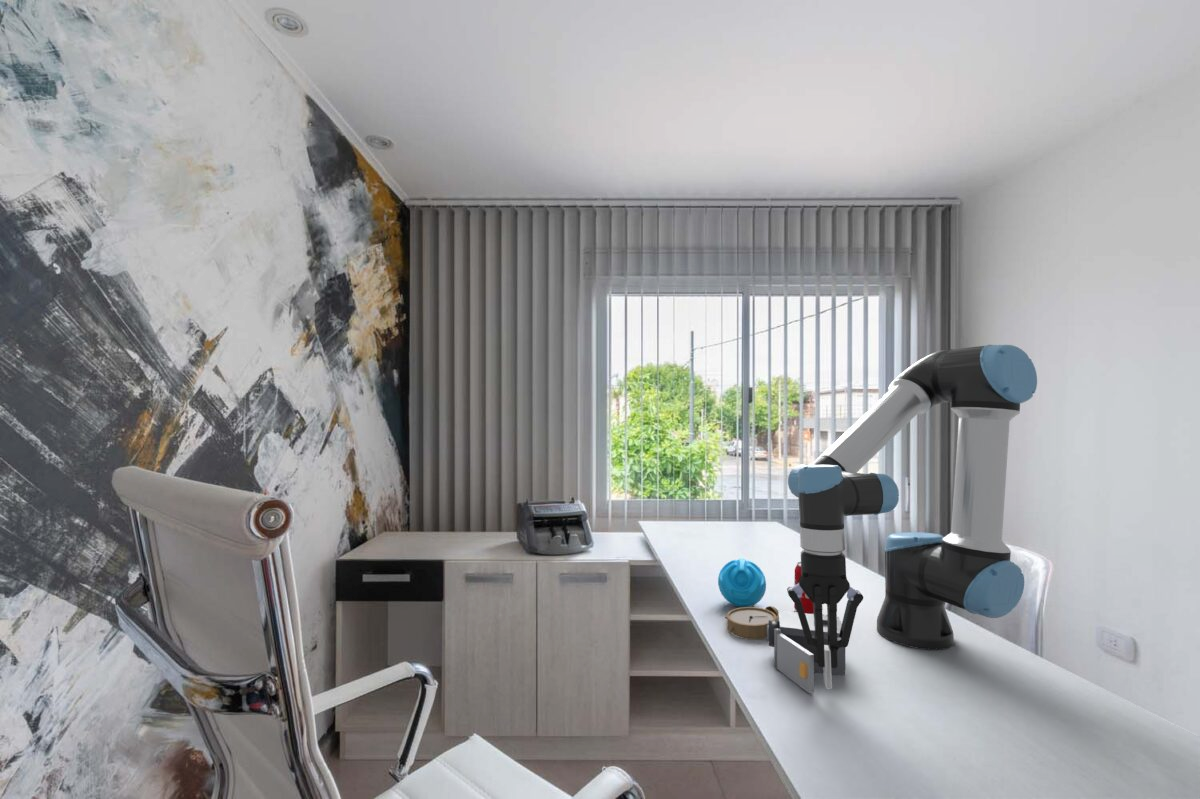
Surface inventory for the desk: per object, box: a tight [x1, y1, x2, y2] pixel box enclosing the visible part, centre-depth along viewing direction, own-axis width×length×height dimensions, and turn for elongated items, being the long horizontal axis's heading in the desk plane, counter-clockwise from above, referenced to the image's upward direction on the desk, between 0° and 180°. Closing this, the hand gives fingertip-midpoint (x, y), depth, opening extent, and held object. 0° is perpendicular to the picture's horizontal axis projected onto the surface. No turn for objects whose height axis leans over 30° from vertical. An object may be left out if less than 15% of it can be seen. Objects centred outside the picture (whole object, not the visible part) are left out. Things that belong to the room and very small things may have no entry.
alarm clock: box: [724, 605, 779, 640], centre depth 127 cm, size 11×5×15 cm
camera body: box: [766, 610, 846, 677], centre depth 112 cm, size 14×9×9 cm, turn 74°
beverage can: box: [793, 561, 814, 614], centre depth 138 cm, size 6×6×12 cm
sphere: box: [717, 558, 767, 608], centre depth 143 cm, size 12×11×12 cm
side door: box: [773, 628, 815, 694], centre depth 104 cm, size 11×2×8 cm, turn 17°
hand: (827, 685), depth 98 cm, fingers closed
